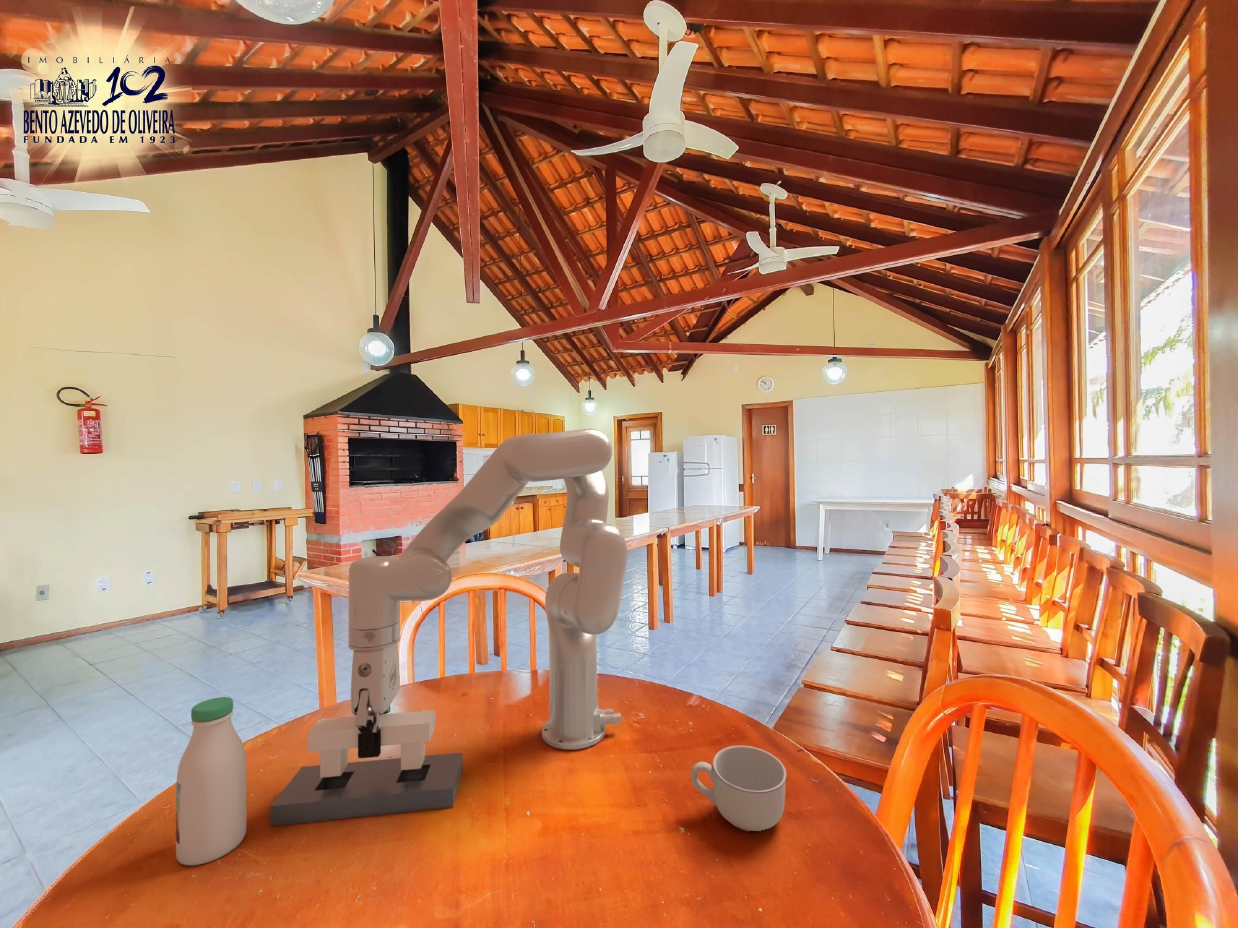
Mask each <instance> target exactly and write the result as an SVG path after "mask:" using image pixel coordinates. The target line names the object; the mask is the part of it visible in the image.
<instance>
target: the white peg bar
mask: <svg viewBox="0 0 1238 928" xmlns="http://www.w3.org/2000/svg"><path fill="white" fill-rule="evenodd" d="M356 716H357V715H356ZM356 716H355V715H353V716H352V715H350V716H342V717H341V716H340V717H339V716H338V717H326V718H319V719H318V720H317V722H315V724H314V725H312V727H311V728H310V730H309V731H308V732H307V753H312V752H319V758H320V759H319V765H320V778H322V777H333V776H341V775H342V773H343V771H344V770H345V768H346V767H347V765H348V763H349V758H348V757H349V749H358V733H357V731H358V728H357V727H356V726H355V721H356ZM373 717H374V716H367V718H368V720H372V722H373ZM380 729H381V747H383V746H395V745H400V758H401V770H410V769H421V766H422V764H423V761H424V759H425V756H426V743H429V742H430V741H431V739H432V736H433V734H434V733H435V729H436V710H435V709H434V710H433V709H431V710H419V711H406V712H393V713H392V712H390V713H387V714H379V727H378V730H380Z"/></svg>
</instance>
